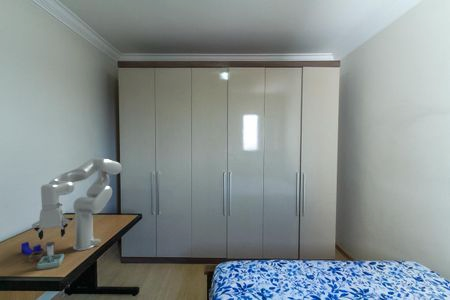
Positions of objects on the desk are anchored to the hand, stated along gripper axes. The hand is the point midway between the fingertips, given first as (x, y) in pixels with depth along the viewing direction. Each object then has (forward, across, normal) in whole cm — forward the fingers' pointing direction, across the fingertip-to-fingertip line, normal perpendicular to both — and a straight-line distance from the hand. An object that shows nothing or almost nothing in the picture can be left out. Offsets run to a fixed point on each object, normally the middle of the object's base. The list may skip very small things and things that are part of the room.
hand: (52, 237), depth 130 cm
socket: (+14, +10, -8) cm, 19 cm away
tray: (+14, +1, +1) cm, 14 cm away
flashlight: (+14, +1, +2) cm, 14 cm away
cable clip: (+15, +15, -16) cm, 27 cm away
